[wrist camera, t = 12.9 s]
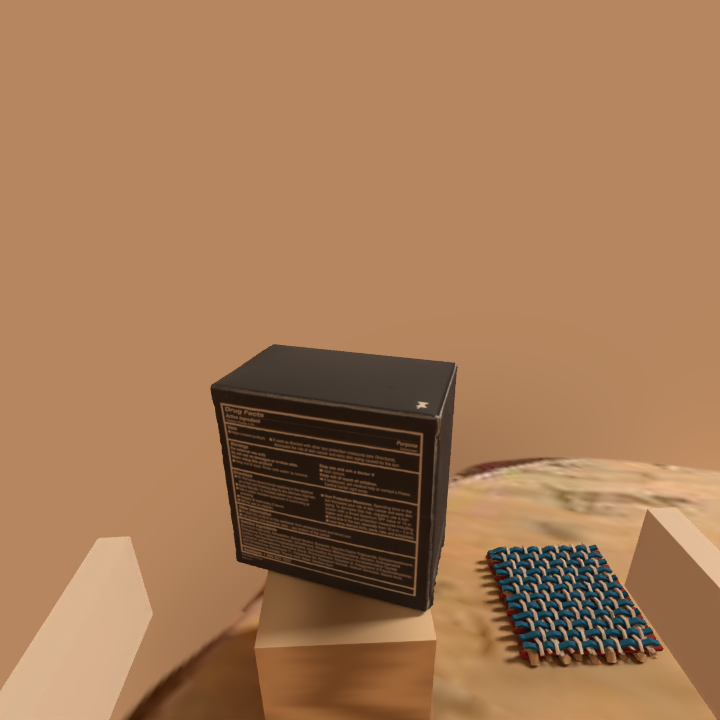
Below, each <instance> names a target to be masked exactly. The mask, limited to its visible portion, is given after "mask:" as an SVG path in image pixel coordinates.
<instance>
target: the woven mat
mask: <svg viewBox="0 0 720 720" xmlns="http://www.w3.org/2000/svg"><path fill="white" fill-rule="evenodd" d="M569 546H570V547H567V546H564V545H561V543H560V544H559V547H558V548H557V546H556V545H555V544H554V545H552V546H546V547H545V548H542V549H541V547H539V546H536V547H534V546H529V548H525V547H523V546H522V548H523V549H522V548H519V547H511V548H510V549H509V548H507V547H505V548H506V549H505V548H504V547H498V548H496V549H494V550H489V551H488V552H487V553H488V554H487V558H488V559H491V561H492V562H491V563H489V564H488V565H489V567H490V568H491V567H493V569H492V573H493V574H496V575H497V576H495V577H494V578H495V581H499V582H498V583H499V584H498V589H502V591H503V593H501V594H500V595H499V596H500V598H501V599H502V600H504V602H503V603H504V606H508V608H509V610H507V615H508V616H511V618H510V622H511V625H515V627H516V628H514V629H513V632H514V634H517V635H519V636H518V637H519V638H517V642H518V645H523V648H524V650H525V651H526V652H525V651H523V650H521V652H520V655H521V657H522V658H524V659H530V663H531V665H536V666H537V665H539V664H540V663H539V659H540V658H542V657H545V658H546V660H547V662H554V660H553V658H552V656H553V655H558V657H559V658H560V660H561V662H562V663H564V664H570V663H571V657H570V656H569V655H567V654H573V657H574V658H575V659H576V660H577V661H582V658H583V656H582V654H588V655H589V657H590V659H591V661H592V663H593V665H601V662H600V660H599V658H598V656H597V654H598V655H600V656H602V657H606V659H607V662H610V663H616V662H617V660H616V656H618V655H619V657H620V658H621V659H628V658H627V656H626V654H625V653H632V654H633V655H634V657H635V658H636V659H637V660H638V661H640V662H645V661H646V658H647V655H646V654H644V653H643V652H648V654H649V656H650V657H651V659H655V658H658V656H657V655H656V651H662V650H663V647H662V646H661V644H660V643H659V642H658V640H656V637H655V636H654V634H653V631H652V629H651V628H650V627H648V626H647V625H646V624H647V623H646V622H645V620H643V617H642V616H641V613H640V611H639V610H638V609H637V608H635V607H633V606H634V604H633V602H632V601H631V599H630V597H629V595H628V593H627V592H626V591H625V590H624V588H623V587H622V585H621V584H620V583H619V581H618V578H617V577H616V575H615V574H614V575H611V574H610V573H612V570H611V569H610V567H609V565H605V564H607V561H606V560H605V559H601V558H602V555H601V554H600V552H599V550H598V548H597V546H596V545H592V546H586V545H585V544H583V543H582V545H577V546H576V547H574V546H573V545H572V544H570V545H569ZM595 550H597V551H595ZM502 552H503V553H502ZM535 552H536V553H535ZM584 552H585V553H584ZM498 553H499V554H498ZM513 554H514V555H513ZM596 557H597V558H596ZM550 582H551V583H552V584H551V583H550ZM514 593H515V594H514ZM644 625H645V626H644ZM630 626H631V627H630Z"/></svg>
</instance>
